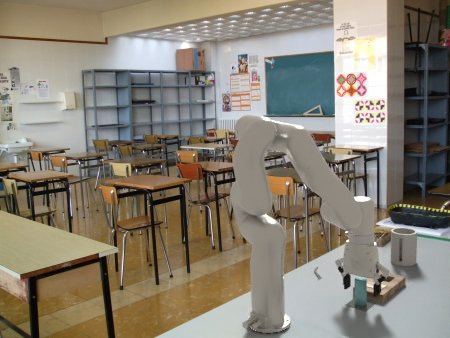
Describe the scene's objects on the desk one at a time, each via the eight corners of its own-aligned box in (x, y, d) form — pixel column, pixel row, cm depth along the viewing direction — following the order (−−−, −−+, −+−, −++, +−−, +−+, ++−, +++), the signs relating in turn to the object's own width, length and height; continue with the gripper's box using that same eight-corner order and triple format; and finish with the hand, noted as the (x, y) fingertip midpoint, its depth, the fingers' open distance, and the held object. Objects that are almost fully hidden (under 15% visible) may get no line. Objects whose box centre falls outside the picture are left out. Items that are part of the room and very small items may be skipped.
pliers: (340, 266, 186) (344, 288, 167) (340, 268, 186) (344, 290, 167) (313, 266, 188) (314, 287, 168) (313, 268, 188) (315, 290, 168)
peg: (363, 307, 152) (363, 282, 151) (352, 304, 154) (352, 279, 153) (368, 303, 155) (368, 278, 153) (357, 300, 157) (357, 276, 156)
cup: (412, 257, 194) (413, 227, 192) (419, 266, 185) (420, 234, 183) (388, 257, 195) (388, 227, 193) (393, 266, 186) (394, 234, 184)
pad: (366, 313, 150) (366, 311, 150) (344, 307, 154) (344, 305, 154) (376, 304, 155) (376, 302, 155) (355, 299, 159) (355, 297, 159)
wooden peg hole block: (382, 304, 155) (383, 294, 155) (353, 296, 162) (353, 286, 161) (405, 285, 168) (405, 276, 168) (377, 278, 175) (377, 269, 174)
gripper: (329, 236, 154) (330, 289, 157) (383, 246, 143) (383, 303, 146) (341, 230, 159) (342, 281, 162) (394, 239, 148) (394, 293, 151)
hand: (361, 291), depth 154 cm, fingers open, 9 cm apart
